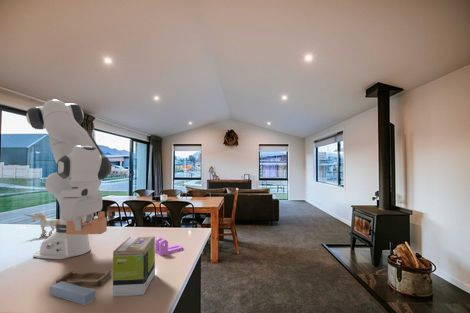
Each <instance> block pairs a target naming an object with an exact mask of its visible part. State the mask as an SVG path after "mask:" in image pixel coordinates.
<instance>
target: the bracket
mask: <svg viewBox="0 0 470 313" xmlns="http://www.w3.org/2000/svg"><path fill="white" fill-rule="evenodd" d="M183 248H184V245H182V244H174V245H169V242H168V240H166V239H164V238H162V237H157V238H155V255H158V256H160V257H161V256H165V255H169V253H170V254H173V253H177V252H180V250H181V251H183V250H184V249H183ZM176 251H177V252H176Z"/></svg>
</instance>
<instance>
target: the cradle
mask: <svg viewBox="0 0 470 313" xmlns="http://www.w3.org/2000/svg"><path fill="white" fill-rule="evenodd" d="M111 276H112V270H107V271H98V272H94V271H93V272H91V271H90V272H89V271H88V272H84V271H82V272H80V271H79V272H74V271H69V272H67V273H65V274H64V275H63V276H61V277H60V278H58V279H57V280H56V281H55V284H56V283H59V282H61V281H63V282H67V283H70V284H74V285H77V286H81V287H101V286H102V285H104V283H106V281H108V279H109V278H111ZM81 278H82V279H85V278H88V279H89V278H95V279H96V278H98V279H97V280H70V279H81Z"/></svg>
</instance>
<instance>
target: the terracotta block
mask: <svg viewBox="0 0 470 313" xmlns="http://www.w3.org/2000/svg"><path fill="white" fill-rule="evenodd" d="M82 220H83V218H82ZM82 220H81V224H83V229H81V230H75V224H74V222H73V221H66V235H70V234H88V235H102V234H103V233H105V232H107V231H108V230H107V229H108V228H107V227H108V226H107V224H108V223H107V222H108V221H107V220H108V218H107V217H106V211H98V213H97V217H96V218H92V221H91V223H82Z"/></svg>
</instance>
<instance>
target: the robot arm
mask: <svg viewBox="0 0 470 313" xmlns="http://www.w3.org/2000/svg"><path fill="white" fill-rule="evenodd" d="M84 115H85V113H84V111H83V109H82V107H81V106H80V105H79V104H77V103H71V102H69V103H65V102H63V101H62V100H59V99H49V100H47V101H46V102H45V103H44V104H43V105H40V106H32V107H29V108H28V109H27V112H26V121H27V123H28V124H29V125H30V126H31V128H33V129H35V130H44V129H45V131H46V132H47V133H48V136H49V139H48V140H49V145H50V150H51V152H52V155H53V158H54V161H55V164H56V172H55V171H54V172H52V173H50V174H49V175H48V176H47V177H46V179H45V183H44V184H45V189H46V191H47V192H48V193H49V194H50V195H52V196H53V197H55V198H56V201H57V202H58V204H59V209H60V210H59V211H60V213H59V215H60V218H59V219H60V224H58V225H56V227H55V226H54V230H55V229H56V228H57V230H56V231H54V233H53V232H52V234H51V236H49V235H48V237H47V238H45V239H44V240H43V241H42V242H41V243H40V244H41V245H40V247H39V250H38V251H36V252H35V253H34V254H33V256H32V257H33V258H34V257H36V258H35V259H37V258H38V259H49V260H51V259H52V260H65V259H68V258H71V257H72V258H73V257H77V256H81V255H84V254H87V253H88V252H90V251H91V250H92V247H91V246H90V239H89V234H70V235H66V221H73V222H74V224H75V230H81V229H83V224H81V220H82V218H83V220H82V223H92V220H93V219H94V214H95V213H97V212H101V211H102V209H103V195H102V193H101V190H100V189H99V188H100V186H101V185H102V180H105V179H106V178H107V177H108V176H109V175H110V174H111V172H112V163H111V161H110V159H109V158H108V156H106V155H105V154H104V153H103V152H102V149H101V148H100V147H99V145H98V144H97V142H96V141H95V139H94V138H93V136H92V135H91V133H90V132H89V131H88V130H86V129H85V128H84V127H82V126H81V124H82V123H83V121H84V119H85V117H84Z"/></svg>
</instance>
